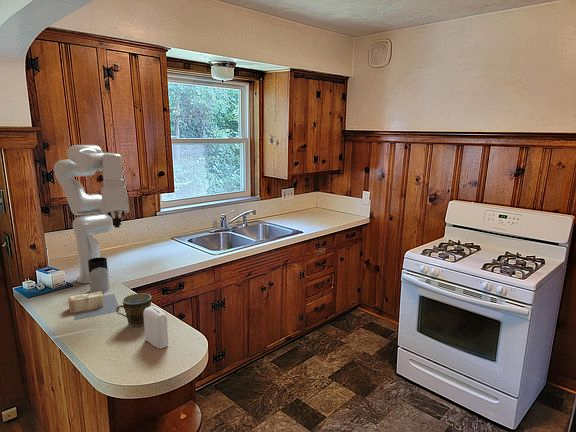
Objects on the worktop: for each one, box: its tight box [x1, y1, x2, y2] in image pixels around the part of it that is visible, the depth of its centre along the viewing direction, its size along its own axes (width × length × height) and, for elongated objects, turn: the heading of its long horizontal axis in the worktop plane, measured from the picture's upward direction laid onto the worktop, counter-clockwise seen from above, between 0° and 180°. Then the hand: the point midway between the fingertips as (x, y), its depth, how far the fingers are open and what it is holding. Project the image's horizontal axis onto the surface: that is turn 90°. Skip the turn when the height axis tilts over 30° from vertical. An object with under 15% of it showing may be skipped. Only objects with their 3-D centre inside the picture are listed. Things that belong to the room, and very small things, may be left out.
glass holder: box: [88, 256, 111, 294], centre depth 174 cm, size 9×14×15 cm, turn 33°
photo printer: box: [143, 306, 169, 350], centre depth 129 cm, size 10×4×12 cm, turn 47°
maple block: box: [67, 291, 104, 314], centre depth 154 cm, size 5×5×12 cm
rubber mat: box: [73, 293, 121, 321], centre depth 157 cm, size 20×16×1 cm
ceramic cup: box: [115, 292, 152, 329], centre depth 141 cm, size 13×10×10 cm
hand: (117, 227), depth 162 cm, fingers closed
